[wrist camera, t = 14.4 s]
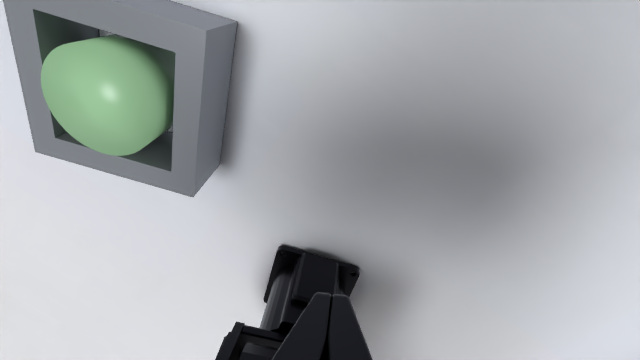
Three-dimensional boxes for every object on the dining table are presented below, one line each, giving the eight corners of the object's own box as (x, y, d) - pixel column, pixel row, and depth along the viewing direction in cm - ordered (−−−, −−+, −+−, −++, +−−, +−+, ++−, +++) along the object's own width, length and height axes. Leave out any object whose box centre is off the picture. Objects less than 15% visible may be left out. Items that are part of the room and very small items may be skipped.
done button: (189, 137, 20) (154, 168, 17) (103, 112, 20) (50, 138, 17) (195, 48, 18) (154, 63, 14) (96, 18, 17) (30, 26, 14)
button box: (219, 164, 22) (193, 197, 19) (87, 125, 22) (35, 151, 18) (237, 21, 17) (206, 30, 14) (69, -31, 17) (-5, -35, 14)
